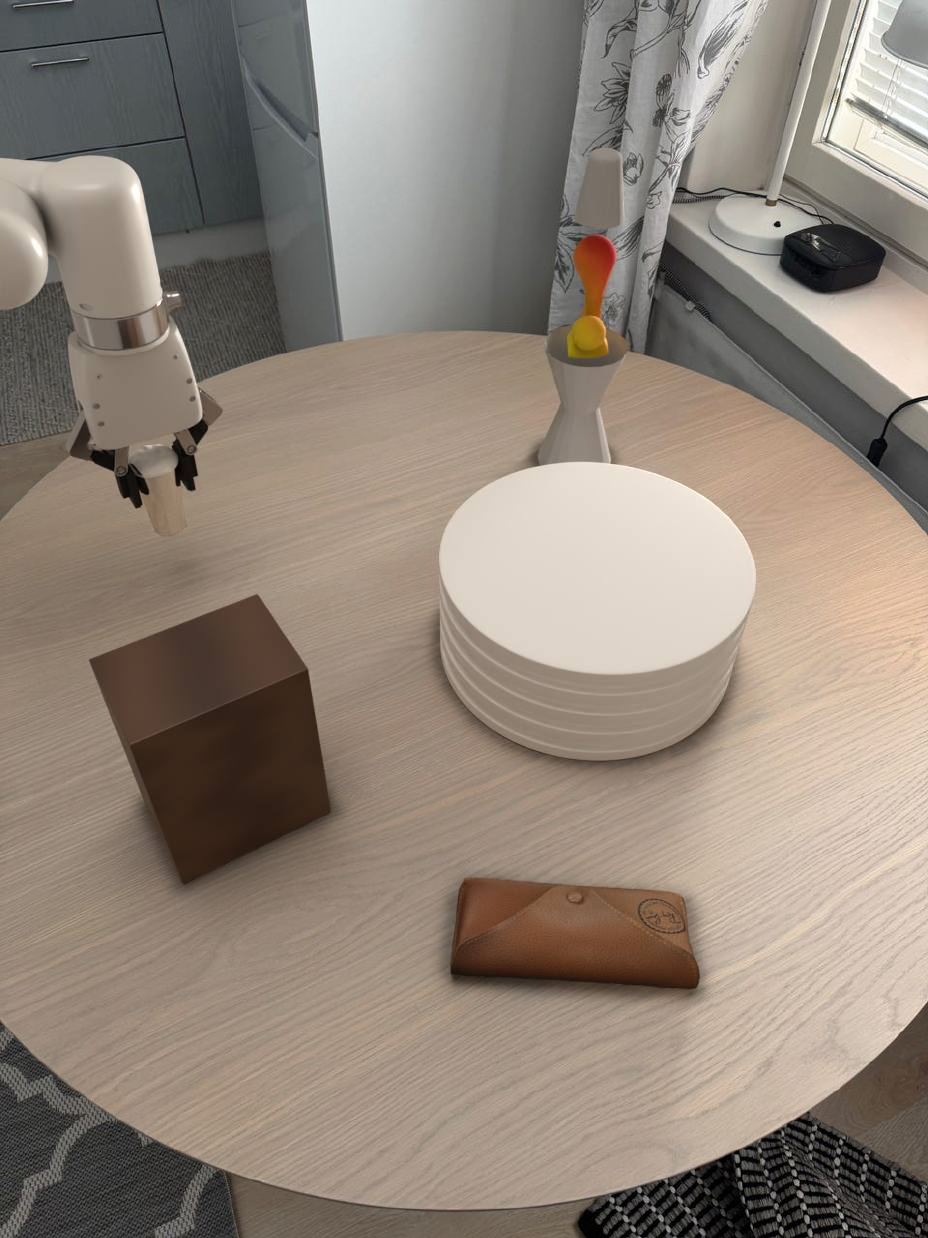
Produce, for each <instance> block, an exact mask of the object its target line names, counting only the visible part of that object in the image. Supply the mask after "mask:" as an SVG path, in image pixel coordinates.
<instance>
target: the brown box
mask: <svg viewBox="0 0 928 1238" xmlns="http://www.w3.org/2000/svg"><path fill="white" fill-rule="evenodd" d="M88 662H89V665H90V668H91V670H92V673H93V675H94V678H95V680H96V682H97V685H98V687H99V690H100V693H101V696H102V698H103V700H104V703H105V705H106V708H107V710H108V713H109V715H110V718H111V721H112V724H113V726H114V728H115V731H116V733H117V736H118V738H119V741H120V744H121V746H122V749H123V751H124V753H125V754H124V755H125V757H126V759H127V762H128V764H129V767H130V769H131V772H132V775H133V777H134V779H135V783H136V784H137V786H138V790H139V792H140V794H141V798H142V799H143V802H144V805H145V807H146V809H147V812H148V813H149V815H150V817H151V820H152V823H153V824H154V826H155V828H156V830H157V832H158V835H159V837H160V839H161V841H162V843H163V845H164V847H165V850H166V852H167V854H168V856H169V858H170V861H171V863H172V865H173V867H174V869H175V871H176V873H177V875H178V878H179V881H180V883H181V884H182V885H185V884H187V883H189V882H191V881H193V880H196V879H197V878H199V877H201V876H204V875H206V874H207V873H210V872H211V871H214V870H216V869H218V868H220V867H222V866H224V865H226V864H228V863H230V862H232V861H234V860H236V859H238V858H240V857H242V856H244V855H246V854H249V853H250V852H253V851H254V850H256V849H258V848H261V847H263V846H265V845H266V844H268V843H271V842H273V841H274V840H278V838H281V837H283V836H285V835H287V834H289V833H292V832H293V831H295V830H297V829H299V828H301V827H303V826H305V825H308V824H309V823H312V822H314V821H316V820H318V819H320V818H322V817H323V816H326V815H327V814H330V813H331V812H332V809H331V801H330V797H329V796H330V795H329V790H328V783H327V777H326V772H325V765H324V759H323V752H322V747H321V740H320V733H319V728H318V727H319V726H318V722H317V715H316V709H315V708H316V707H315V703H314V696H313V690H312V684H311V678H310V673H309V667H308V666H307V665H306V663H305V661H304V660H303V659H302V657H301V656H300V654H299V653H298V651H297V650H296V648H295V647H294V646H293V644H292V643H291V641H290V640H289V638H288V636H287V634H285V632H284V630H283V628H281V626H280V624H279V623H278V622H277V620H276V619H275V617H274V615H273V614H272V613H271V612H270V610H269V609H268V607H267V606H266V604H265V603H264V601H263V600H262V598H261V597H260V595H259V594H258V593H255V594H253V595H251V596H248V597H245V598H243V599H240V600H238V601H235V602H232V603H231V604H228V605H225V606H222V607H219V608H217V609H215V610H212V611H209V612H207V613H204V614H202V615H199V616H197V617H194V618H192V619H189V620H186V621H183V622H182V623H178V624H176V625H174V626H171V627H168V628H166V629H163V630H161V631H159V632H156V633H153V634H151V635H147V636H146V637H142V638H140V639H137V640H135V641H133V642H130V643H128V644H124V645H122V646H119V647H117V648H115V649H112V650H110V651H109V650H108V651H107V652H105V653H102V654H99V655H96V656H94V657H92V658H91V657H90V658H89V659H88Z"/></svg>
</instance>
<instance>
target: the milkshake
mask: <svg viewBox="0 0 928 1238" xmlns="http://www.w3.org/2000/svg"><path fill="white" fill-rule="evenodd" d="M128 464H129V465H130V467H131V468H132V470H133V472H134V473H135V476H136V479H137V483H138V487H139V491H140V495H141V499H142V503H143V506H144V507H145V510H146V512H147V515H148V518H149V520H150V522H151V526H152V528H153V530H154V532H155V534H158V535H159V536H161V537H175V536H177V535H180V534H182V533H183V531H185V529H186V528H187V527H188V524H187V517H186V510H185V504H184V498H183V492H182V490H183V489H182V481H181V479H180V470H179V461H178V455H177V454H176V453H175V452H174V451H173V450H172V447H170V446H168V445H163V444H160V443H155V444H144V445H143V446H141V447H139V448H138V449H136V450H134V451H133V452H132V453H130V455H129V457H128Z"/></svg>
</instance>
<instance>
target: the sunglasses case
mask: <svg viewBox="0 0 928 1238" xmlns="http://www.w3.org/2000/svg"><path fill="white" fill-rule="evenodd" d="M457 896H458V897H457V906H456V918H455V925H454V931H453V937H452V944H451V955H450V962H449V966H450V969H449V970H450V975H452V976H458V977H469V978H471V977H472V978H493V979H494V978H495V979H496V978H498V979H500V978H502V979H517V980H539V981H540V980H541V981H543V980H544V981H558V982H560V981H561V982H573V983H590V984H591V983H592V984H607V985H623V986H637V987H648V988H649V987H650V988H659V989H672V990H673V989H674V990H675V989H677V990H695V989H697V988H698V987H699V984H700V978H701V974H700V968H699V964H698V962H697V961H696V957H695V953H694V950H693V946H692V943H691V940H690V935H689V934H690V932H689V926H688V917H687V908H686V907H687V906H686V903H685V899H684V897H683V896H682V895H681V894H679V893H677V892H676V893H675V892H672V891H671V892H670V891H666V890H665V891H664V890H657V889H656V890H655V889H644V888H642V889H641V888H625V887H607V886H592V885H576V884H575V885H574V884H562V883H550V882H549V883H548V882H537V881H535V882H534V881H525V880H524V881H523V880H512V879H500V878H491V877H480V876H479V877H465V878H464V879H463V881H462V882H461V884H460V886H459V889H458V895H457Z"/></svg>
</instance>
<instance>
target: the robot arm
mask: <svg viewBox="0 0 928 1238" xmlns="http://www.w3.org/2000/svg"><path fill="white" fill-rule="evenodd" d="M150 227H151V226H150V221H149V216H148V211H147V207H146V201H145V196H144V191H143V187H142V184H141V180H140V178H139V175H138V174H137V172H136V171H135V170H134V168H133V167H131V166H130V165H129V164H128V163H126V162H125V161H123V160H121V159H119V158H116V157H112V156H106V155H79V156H74V157H69V158H65V159H62V160H59V161H43V160H29V159H28V160H27V159H17V158H8V157H7V158H6V157H0V311H6V310H7V311H8V310H13V309H16V308H20V307H22V306H24V305H26V304H27V303H29V302H31V301H32V300H33V299H34V298H35V297H36V296H37V295H38V294H39V293H40V291H41V290H42V288H43V286H44V285H45V282H46V279H47V276H48V272H49V255H51V256H52V257H54V259H55V260H56V263H57V267H58V270H59V274H60V277H61V281H62V286H63V289H64V292H65V297H66V300H67V303H68V306H69V311H70V314H71V318H72V321H73V322H72V323H73V326H74V329H75V330H74V331H71V333H69V335H68V337H67V350H68V351H67V353H68V361H69V362H68V364H69V369H70V376H71V381H72V388H73V392H74V396H75V401H76V406H77V409H78V414H79V416H77V419H76V421H75V423H74V425H73V427H72V429H71V432H70V434H69V436H68V438H67V440H66V442H65V447H64V448H66V451H67V453H68V454H69V456H70V457H72V458H76V459H79V460H83V461H87V462H93V464H95V465H97V466H99V467H101V468H104V469H106V470H109V471H111V472H113V474H114V477H115V481H116V484H117V489H118V491H119V493H120V496H121V498H122V499H123V500H125V499H128V498H129V500H130V503H132V505H133V507H134V509H140V508H142V506H144V502H143V499H142V497H141V494H140V491H139V487H138V483H137V479H136V476H135V473H134V472H133V470H132V468H131V467H130V465H129V458H130V455H129V454H130V453H129V452H130V447H131V446H134V445H137V444H141V443H145V442H147V441H151V440H155V439H159V438H161V437H164V436H168V435H171V434H172V435H173V436H174V438H175V439H174V441H172V444H171V449H172V450H173V451H174V452H175V453H176V454H177V455H178V461H179V470H180V479H181V484H183V486H184V487H185V489H186V490H187V491H188V492H193V491H196V490H197V488H196V482H195V477H198V476H199V472H198V467H197V462H196V456H195V454H197V452H198V450H199V449H198V445H199V443H200V442H201V441H202V439H203V438H204V437H205V435H206V433H207V432H208V430H209V427H210V426H212V425H213V424H214V423H215V422H216V421H217V420H218V418H220V416H221V415H222V414H223V412H224V410H223V407H222V405H220V404H219V402H218V401H217V400H216V399H214V398H213V397H212V396H211V395H209V394H208V393H207V392H206V391H204V390H203V389H201V388H200V387H199V386H198V383H197V380H196V377H195V373H194V370H193V367H192V363H191V360H190V357H189V353H188V351H187V348H186V346H185V345H186V344H185V343H184V340H183V337H182V335H181V332H180V330H179V328H178V326H177V324H176V322H175V320H174V318H173V317H172V316H171V313H172V312H171V311H174V310H175V309H176V308H180V307H183V301H182V298H181V295H180V293H179V291H178V290H173V291H169V290H167V291H164V289H163V287H162V283H161V278H160V277H161V276H160V272H159V268H158V262H157V258H156V252H155V247H154V241H153V237H152V232H151V228H150ZM91 438H92V439H93V442H94V443H90V439H91Z"/></svg>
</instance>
